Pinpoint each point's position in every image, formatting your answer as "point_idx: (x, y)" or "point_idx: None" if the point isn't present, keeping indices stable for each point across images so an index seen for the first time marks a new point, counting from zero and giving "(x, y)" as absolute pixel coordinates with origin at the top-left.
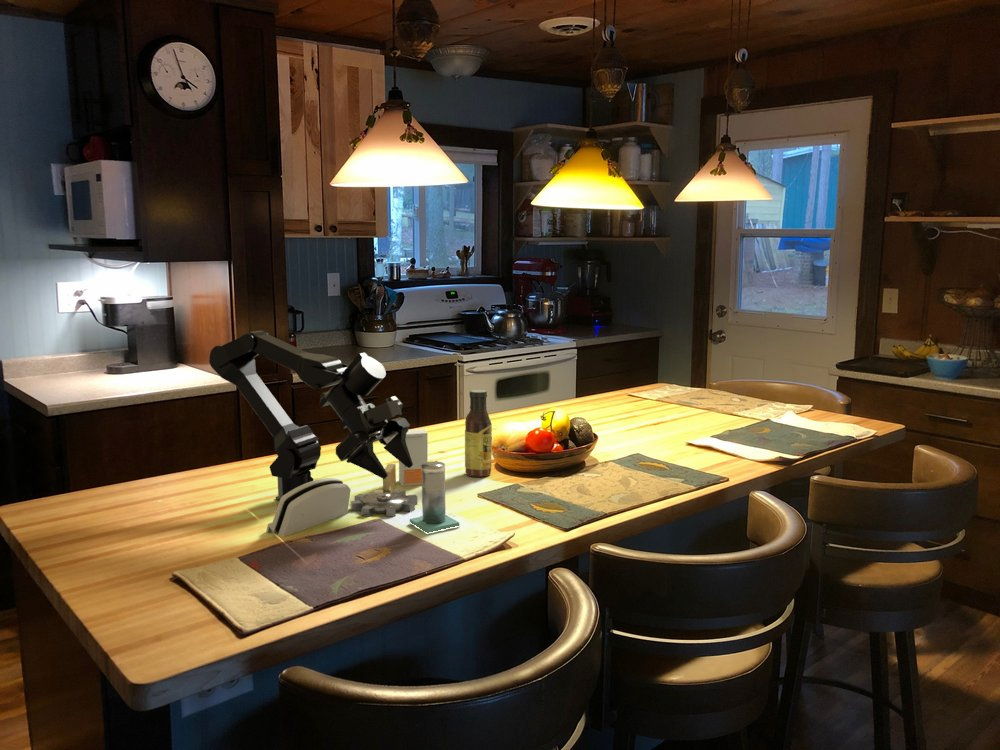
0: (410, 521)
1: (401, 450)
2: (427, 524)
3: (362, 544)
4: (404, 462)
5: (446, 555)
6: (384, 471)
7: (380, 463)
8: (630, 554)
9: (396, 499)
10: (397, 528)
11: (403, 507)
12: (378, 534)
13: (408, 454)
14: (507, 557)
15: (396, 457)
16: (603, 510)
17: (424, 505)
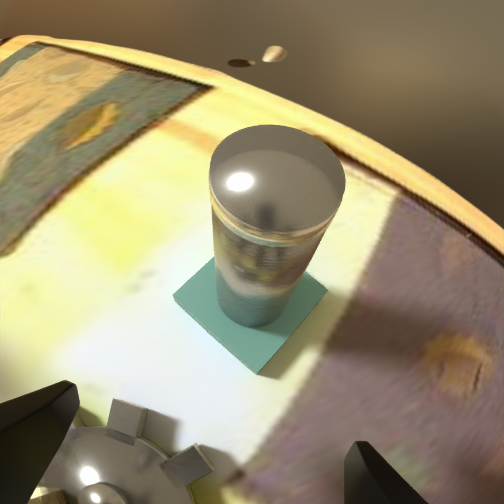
0: (260, 369)
1: (5, 456)
2: (291, 301)
3: (426, 421)
4: (59, 433)
5: (403, 222)
6: (378, 456)
7: (392, 495)
8: (278, 48)
9: (98, 465)
10: (295, 398)
11: (139, 432)
12: (356, 425)
13: (21, 405)
14: (358, 137)
15: (33, 485)
16: (112, 73)
17: (293, 292)
